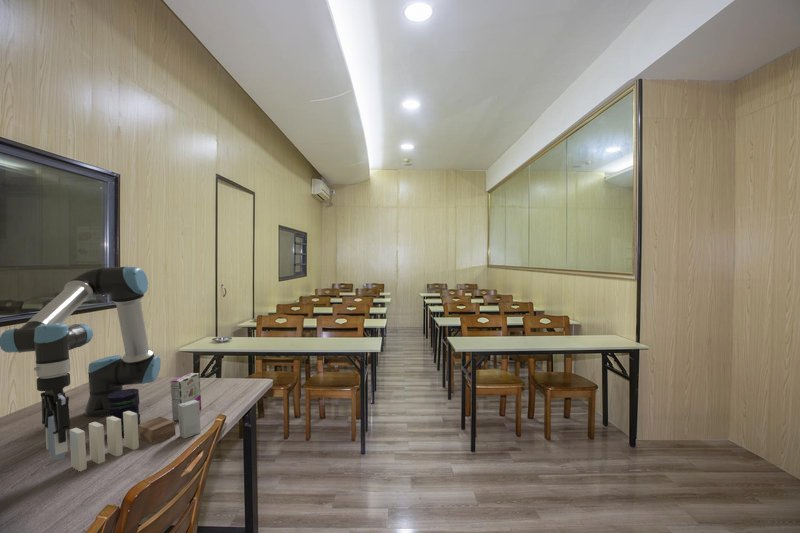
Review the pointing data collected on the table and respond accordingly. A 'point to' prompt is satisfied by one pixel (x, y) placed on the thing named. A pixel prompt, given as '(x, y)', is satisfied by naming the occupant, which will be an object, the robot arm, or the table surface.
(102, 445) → the tile
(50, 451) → the tile
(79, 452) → the tile
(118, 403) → the storage jar
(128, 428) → the tile
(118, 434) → the tile
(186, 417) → the skincare box
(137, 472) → the table surface
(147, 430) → the end block
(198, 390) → the candy bar box
